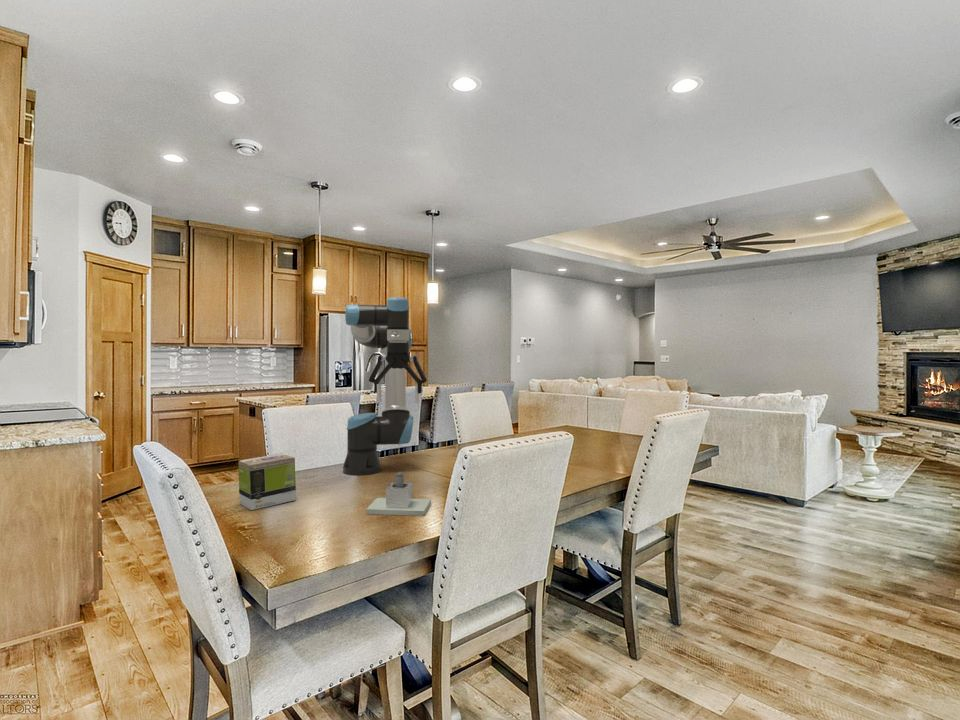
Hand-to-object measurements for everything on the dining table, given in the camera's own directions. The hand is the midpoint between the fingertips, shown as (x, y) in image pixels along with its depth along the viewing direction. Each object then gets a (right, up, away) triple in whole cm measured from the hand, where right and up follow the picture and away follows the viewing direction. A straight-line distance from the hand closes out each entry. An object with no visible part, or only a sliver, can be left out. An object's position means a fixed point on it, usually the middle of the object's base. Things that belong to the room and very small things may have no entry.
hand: (397, 402), depth 183 cm
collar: (+3, -31, -18) cm, 36 cm away
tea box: (-41, -32, -12) cm, 53 cm away
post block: (+3, -32, -17) cm, 37 cm away
